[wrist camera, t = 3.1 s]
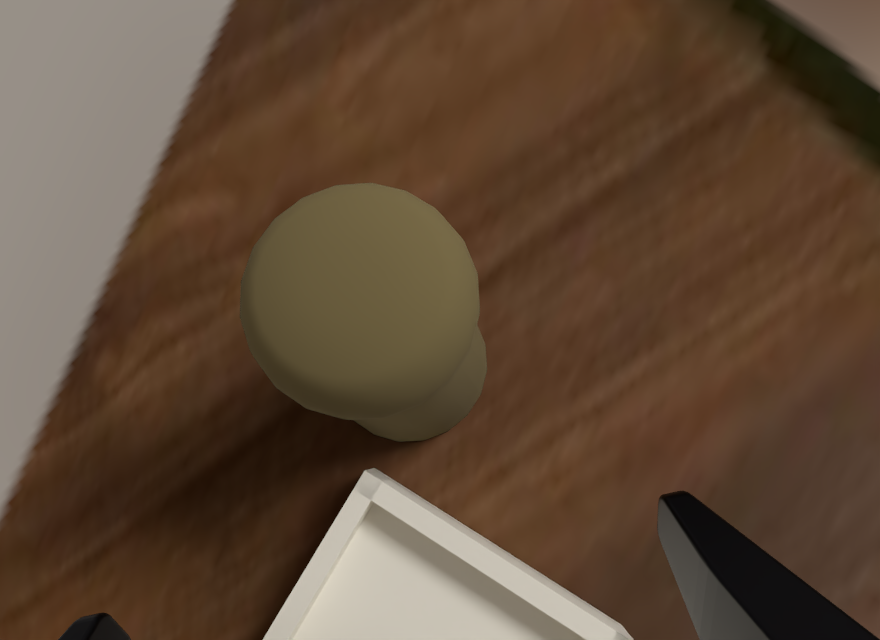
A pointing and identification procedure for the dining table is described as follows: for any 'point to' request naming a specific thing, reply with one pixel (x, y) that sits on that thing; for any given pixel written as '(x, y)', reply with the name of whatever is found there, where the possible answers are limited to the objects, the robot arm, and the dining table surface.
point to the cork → (367, 311)
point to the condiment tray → (424, 581)
